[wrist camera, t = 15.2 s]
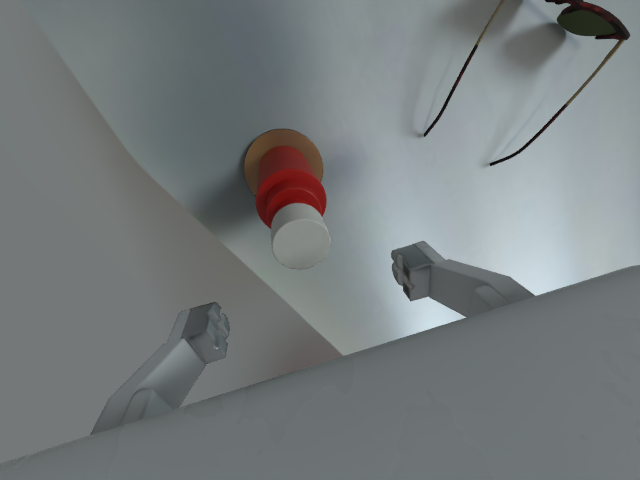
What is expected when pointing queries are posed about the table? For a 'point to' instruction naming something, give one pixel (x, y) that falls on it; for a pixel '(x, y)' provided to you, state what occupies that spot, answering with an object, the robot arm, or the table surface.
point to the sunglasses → (577, 21)
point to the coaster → (273, 140)
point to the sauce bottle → (292, 208)
